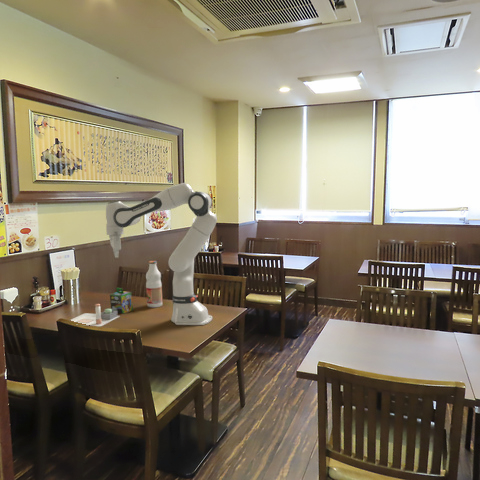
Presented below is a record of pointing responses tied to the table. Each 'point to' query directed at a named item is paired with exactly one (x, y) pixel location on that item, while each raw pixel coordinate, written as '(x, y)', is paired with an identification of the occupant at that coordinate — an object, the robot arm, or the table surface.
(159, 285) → the fruit juice
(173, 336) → the table surface
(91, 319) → the board
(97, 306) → the marker
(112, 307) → the chalk box
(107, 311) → the button
